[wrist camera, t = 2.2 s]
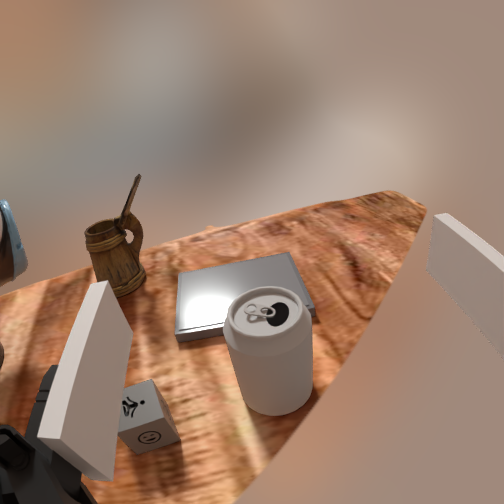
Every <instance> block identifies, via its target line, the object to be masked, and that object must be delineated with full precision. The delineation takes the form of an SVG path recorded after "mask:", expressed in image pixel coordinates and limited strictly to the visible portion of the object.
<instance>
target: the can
mask: <svg viewBox="0 0 504 504" xmlns="http://www.w3.org/2000/svg"><path fill="white" fill-rule="evenodd" d="M223 333H224V337H225V340H226V344H227V347H228V350H229V354H230V357H231V361H232V364H233V367H234V371H235V374H236V377H237V381H238V384H239V387H240V390H241V394H242V397H243V400H244V401H245V403H246V404H247V405H248V406H249V407H250V408H251V409H253V410H254V411H256V412H258V413H260V414H264V415H269V416H279V415H285V414H288V413H291V412H294V411H295V410H297V409H298V408H300V407H301V406H303V405H304V404H305V402H306V401H307V400H308V398H309V397H310V395H311V391H312V388H313V349H312V320H311V314H310V312H309V311H308V309H307V308H306V306H305V305H303V302H302V301H301V299H300V298H299V296H298V295H296V294H295V293H294V292H292V291H291V290H288V289H285V288H282V287H275V286H266V287H258V288H255V289H251V290H249V291H247V292H245V293H243V294H241V295H239V296H238V297H237V298H236V299H235V300H234V301H233V302H232V303H231V305H230V306H229V308H228V312H227V317H226V319H225V320H224V325H223Z"/></svg>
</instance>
